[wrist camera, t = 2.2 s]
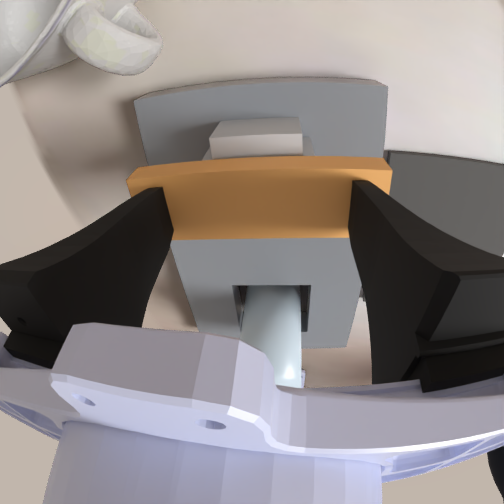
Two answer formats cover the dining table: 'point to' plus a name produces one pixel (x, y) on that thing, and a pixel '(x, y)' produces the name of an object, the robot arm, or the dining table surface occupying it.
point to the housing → (267, 145)
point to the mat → (452, 195)
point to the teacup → (74, 36)
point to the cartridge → (275, 328)
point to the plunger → (261, 195)
